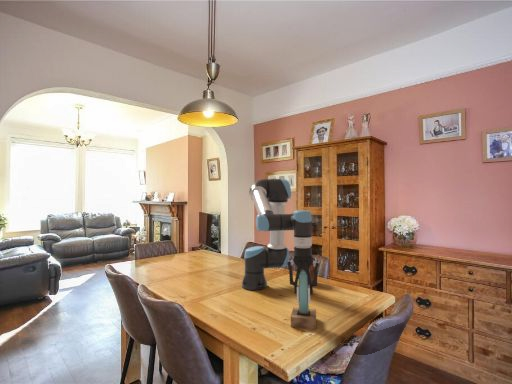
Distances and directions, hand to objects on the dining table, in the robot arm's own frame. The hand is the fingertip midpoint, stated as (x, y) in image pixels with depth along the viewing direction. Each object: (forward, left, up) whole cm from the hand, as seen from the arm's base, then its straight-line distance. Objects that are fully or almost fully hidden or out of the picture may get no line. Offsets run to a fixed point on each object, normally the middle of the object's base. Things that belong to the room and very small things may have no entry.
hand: (303, 301), depth 116 cm
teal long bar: (0, 0, -4) cm, 4 cm away
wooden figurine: (-1, +55, -9) cm, 56 cm away
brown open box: (0, 0, -9) cm, 9 cm away
